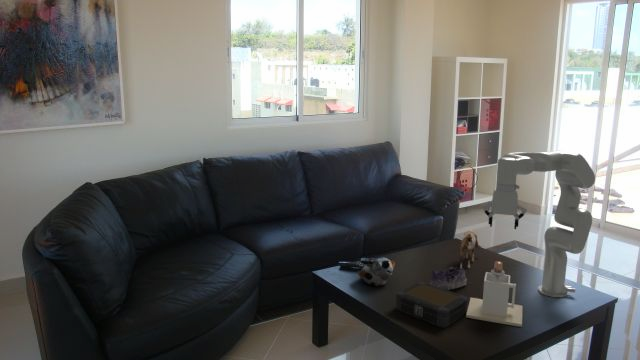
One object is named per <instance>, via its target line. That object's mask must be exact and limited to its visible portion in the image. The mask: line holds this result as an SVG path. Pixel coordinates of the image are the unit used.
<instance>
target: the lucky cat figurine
mask: <svg viewBox="0 0 640 360" xmlns="http://www.w3.org/2000/svg"><path fill="white" fill-rule="evenodd" d="M395 262H396V261H395V260H390V259H389V258H387V257H379V258H377V259H375V260H372V259H371V260H369V263H368V264H365V265H364V266H363V267H362V268H361V269H360V270H358V271H357V272H356V273H357V275H358V276H359V277H360V278H361V279H362V280H363V281H364V282H365V283H367V284H369V285H370V286H371V285H372V286H373V287H375V286H376V287H379V286H383V285H385V284H386V282H387V280H388V278H390V277H391V276H392V274H393V270H394V268H395V265H396V264H395Z"/></svg>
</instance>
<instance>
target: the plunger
mask: <svg viewBox="0 0 640 360" xmlns="http://www.w3.org/2000/svg"><path fill="white" fill-rule="evenodd" d="M490 273H491V274H493V275H496V281H495V282H499V276H503V275H506V272H505V271H504V270H503V262H502V261H499V260H497V261H494V268H493V269H491V270H490Z"/></svg>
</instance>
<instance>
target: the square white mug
mask: <svg viewBox="0 0 640 360" xmlns="http://www.w3.org/2000/svg"><path fill="white" fill-rule="evenodd" d="M495 281H496V275H493V274H491V272H488V271H486V272H485V275H484V280H483V296H482V299H481V298H478V297H469V301H468V307H467V314H465V318H470V319H472V320H479V321H484V322H490V323H491V322H492V323H497V324H503V325H509V326H515V327H519V328H523V305H520V304H515V303H516V302H515V299H516V291H517V290H516V288H517V283H511V275H509V274H505V275H503V276H499V282H495ZM511 288H512V295H511V296H512V299H511V303H510V302H509V297H510V296H509V295H510V289H511Z"/></svg>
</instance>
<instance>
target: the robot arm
mask: <svg viewBox="0 0 640 360" xmlns="http://www.w3.org/2000/svg"><path fill="white" fill-rule="evenodd" d="M496 169H497V170H496V185H495V188H494V189H493V193H492V198H491V202H489V203H487V204H484V205H482V209H483V212H484V213H485V215H486V216H487V217H488V225H489V226H490V227H491V228H492V227H493V217H494V215H505V216H514V227H513V228H514V230H517V228H518V227H519V220H520V219H521V218H523V217H524V216H525V214H526V213H527V212H528V211H527V208H525V207H523V206H522V205H520V204H518V203H519V199H518V198H519V196H518V190H520V185H518V184H517V176H519V175H520V176H521V175H523V176H524V175H525V176H526V175H530V174H531V173H532V172H535V173H536V172H537V173H538V172H540V173H546V172H553V171H554V172H555V179H556V181H557V183H558V186H559V189H560V196H559V199H558V202H557V206H556V208H555V211H554V215H553V216H554V218H553V219H554V222H556V223H557V224H559V225H561V226H563V227H567V228H571V229H573V230H569V229H566V228H563V227H560V226H551V227H548V228H547V229H546V231H545V232H544V238H543V239H544V240H543V241H544V246H545V247H544V250H545V251H544V262H543V271H542V272H543V273H542V283H541V285H539V286H538V287H537V291H538V292H539V293H540V294H542V295H544V296H546V297H550V298H557V297H558V298H559V297H560V298H564V297H567V296H568V292H569V293H576V288H573V286H569V285H566V274H567V273H566V272H567V265H568V264H567V263H568V254H567V253H570V254H573V255H578V254H581V253H582V252H583V251H584V249H585V247H586V243H587V240H588V238H589V234H590V231H591V228H592V224H593V215H592V213H591V212H590V211H589V210H587V209H584V208H581V207H580V203H581V199H582V195H581V190H580V189H589V188H592V187H593V185H594V184H595V181H596V175H595V172H594V171H593V168H592V167H591V166H590V164H589V163H588V161H587V160H586V158H585V157H584V156H583V155H582V154H580V153H578V152H573V151H572V152H571V151H565V150H552V151H542V152H539V151H538V152H536V151H533V152H509V153H506V154H504V155H503V156H502V157H500V158H499V159H498V160H497V168H496ZM490 207H491V209H490V210H491V211H489V210H488V208H490ZM518 210H520V211H521V212H520V213H519V214H518ZM490 227H489V228H490Z"/></svg>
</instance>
